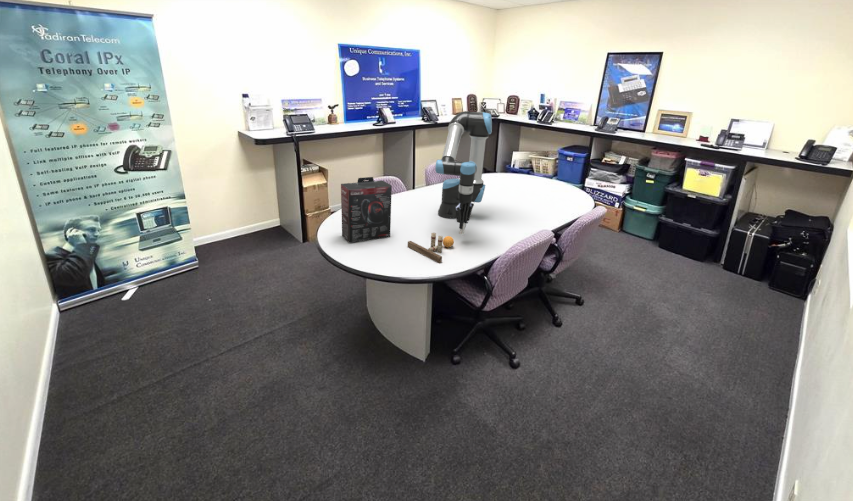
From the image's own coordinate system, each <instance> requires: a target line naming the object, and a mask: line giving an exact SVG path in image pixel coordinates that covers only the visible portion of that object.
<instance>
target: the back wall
mask: <svg viewBox="0 0 853 501" xmlns="http://www.w3.org/2000/svg"><path fill="white" fill-rule="evenodd" d="M407 248H409V249H411V250H412V251H414V252H416V253H419V254H421V255H423V256H424V257H427V258H428V259H429V260H430V259H431V261H434V262H436V263H438V264H439V263H440V264H441V263H442V262H443V256H442V255H440V254H439V253H437V252H435V251H434V252H432V251H430V250H428V249H429V248H426V247H424V246H422V245H420V244H418V243H416V242H415V241H412V240H408V241H407Z"/></svg>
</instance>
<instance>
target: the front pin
mask: <svg viewBox="0 0 853 501" xmlns="http://www.w3.org/2000/svg"><path fill="white" fill-rule="evenodd" d="M437 246H438V244H437V245H435V246H434V247H431V246H430V247H429V248H427V249H428V250H430V251H432V252H434V253H435V252H437ZM443 248H444V245H443V244H442V249H443Z"/></svg>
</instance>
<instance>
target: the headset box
mask: <svg viewBox="0 0 853 501" xmlns="http://www.w3.org/2000/svg"><path fill="white" fill-rule="evenodd" d="M392 190H393V189H392V185H391V184H390V183H389V182H386V181H384V180H374V176H369V177H368V176H367V177H366V176H365V177H358V178H357V182H348V183H340V201H341V204H340V205H341V206H340V207H341V236H342V238H344V239H345V240H346V241H347V242H348V243H349V244H351V243H359V242H364V241H366V242H367V241H372V240H378V239H384V238H390V237H391V222H392V221H391V220H392V215H391V214H392V192H393V191H392Z"/></svg>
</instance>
